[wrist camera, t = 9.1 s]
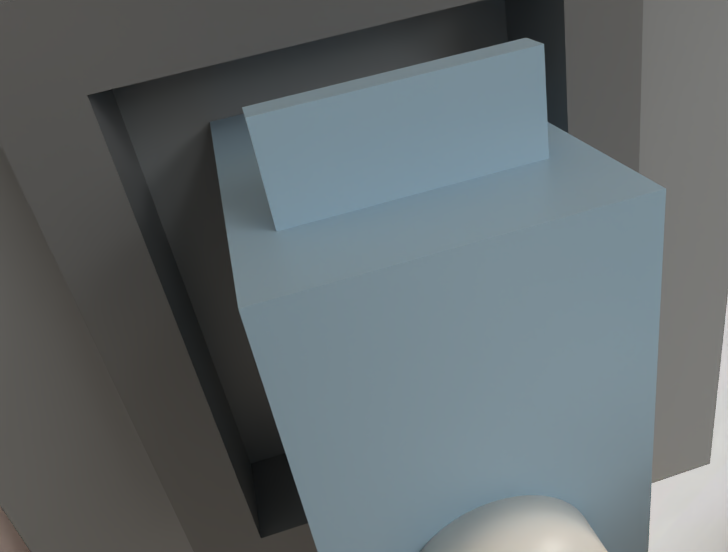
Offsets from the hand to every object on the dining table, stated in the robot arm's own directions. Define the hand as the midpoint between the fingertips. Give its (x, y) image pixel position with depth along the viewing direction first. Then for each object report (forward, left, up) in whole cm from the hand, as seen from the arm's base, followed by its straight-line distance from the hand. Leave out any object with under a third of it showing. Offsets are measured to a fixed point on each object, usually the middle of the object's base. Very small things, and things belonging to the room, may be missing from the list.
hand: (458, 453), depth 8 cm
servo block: (0, 0, -5) cm, 5 cm away
